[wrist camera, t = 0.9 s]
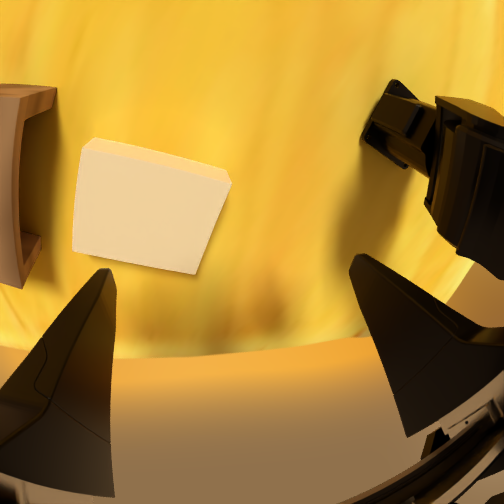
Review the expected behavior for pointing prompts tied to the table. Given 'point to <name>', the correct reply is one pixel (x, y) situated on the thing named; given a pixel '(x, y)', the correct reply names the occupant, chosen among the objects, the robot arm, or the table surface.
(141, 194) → the beige block
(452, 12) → the table surface
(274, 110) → the table surface
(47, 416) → the robot arm
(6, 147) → the wood grain block
